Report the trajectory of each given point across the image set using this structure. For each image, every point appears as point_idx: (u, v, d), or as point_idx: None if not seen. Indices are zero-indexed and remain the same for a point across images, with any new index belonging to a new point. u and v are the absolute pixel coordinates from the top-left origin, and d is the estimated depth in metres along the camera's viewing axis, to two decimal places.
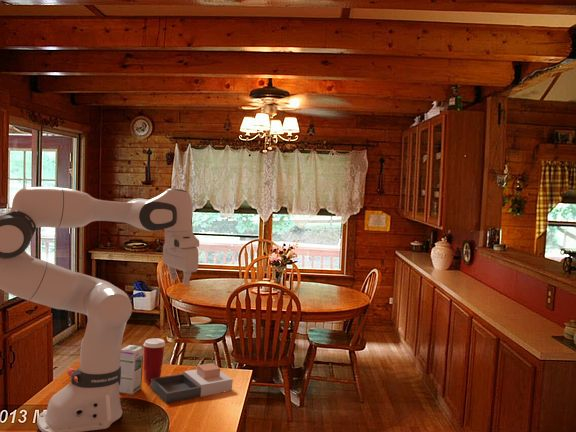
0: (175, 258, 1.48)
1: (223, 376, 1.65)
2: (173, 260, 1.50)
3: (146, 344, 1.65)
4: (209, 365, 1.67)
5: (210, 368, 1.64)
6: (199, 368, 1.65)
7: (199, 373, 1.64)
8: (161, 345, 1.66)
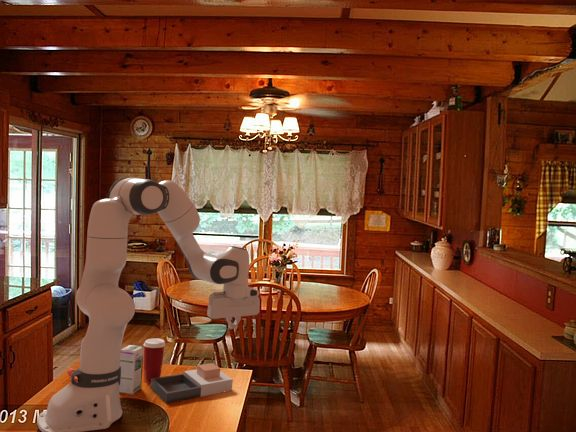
0: (239, 307, 1.69)
1: (223, 376, 1.65)
2: (234, 310, 1.68)
3: (146, 344, 1.65)
4: (209, 365, 1.67)
5: (210, 368, 1.64)
6: (199, 368, 1.65)
7: (199, 373, 1.64)
8: (161, 345, 1.66)
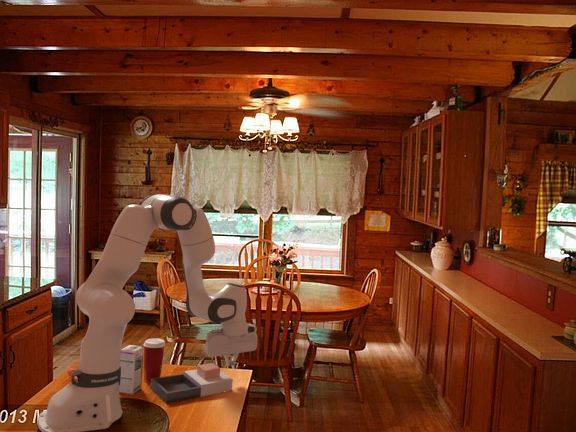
0: (237, 344, 1.70)
1: (223, 376, 1.65)
2: (232, 347, 1.69)
3: (146, 344, 1.65)
4: (209, 365, 1.67)
5: (210, 368, 1.64)
6: (199, 368, 1.65)
7: (199, 373, 1.64)
8: (161, 345, 1.66)
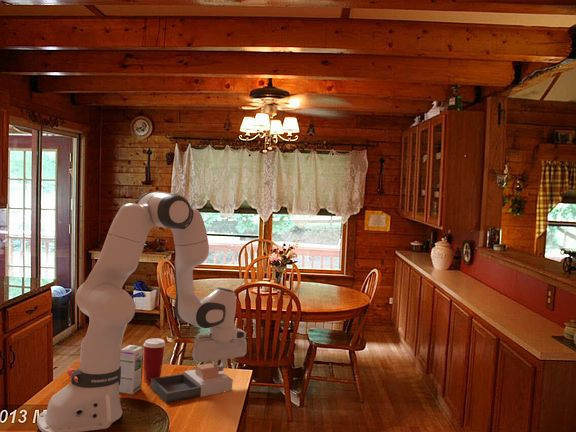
0: (225, 349, 1.67)
1: (223, 376, 1.65)
2: (220, 353, 1.66)
3: (146, 344, 1.65)
4: (208, 365, 1.67)
5: (209, 368, 1.64)
6: (198, 368, 1.64)
7: (198, 373, 1.64)
8: (161, 345, 1.66)
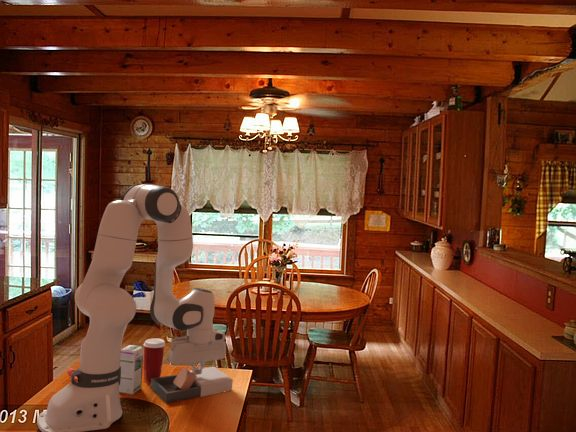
0: (203, 352, 1.62)
1: (223, 376, 1.65)
2: (198, 355, 1.61)
3: (146, 344, 1.65)
4: (181, 373, 1.60)
5: (183, 378, 1.58)
6: (176, 384, 1.59)
7: None
8: (161, 345, 1.66)
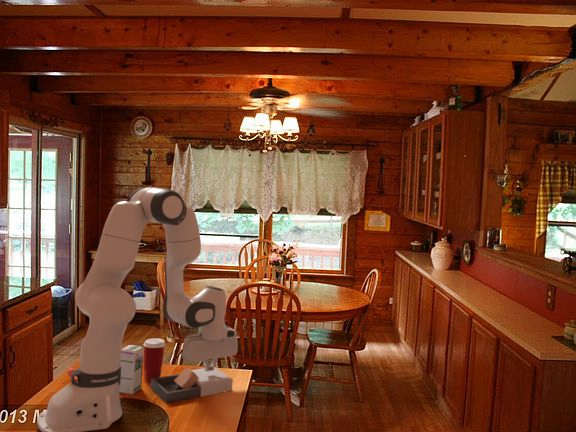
0: (216, 349, 1.65)
1: (223, 376, 1.65)
2: (211, 352, 1.64)
3: (146, 344, 1.65)
4: (184, 373, 1.61)
5: (185, 377, 1.59)
6: (176, 383, 1.59)
7: (180, 386, 1.60)
8: (161, 345, 1.66)
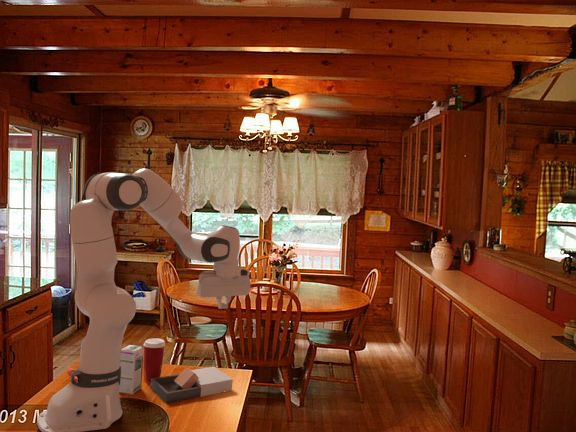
0: (229, 287, 1.69)
1: (223, 376, 1.65)
2: (224, 289, 1.68)
3: (146, 344, 1.65)
4: (184, 373, 1.61)
5: (185, 377, 1.59)
6: (176, 383, 1.59)
7: (180, 386, 1.60)
8: (161, 345, 1.66)
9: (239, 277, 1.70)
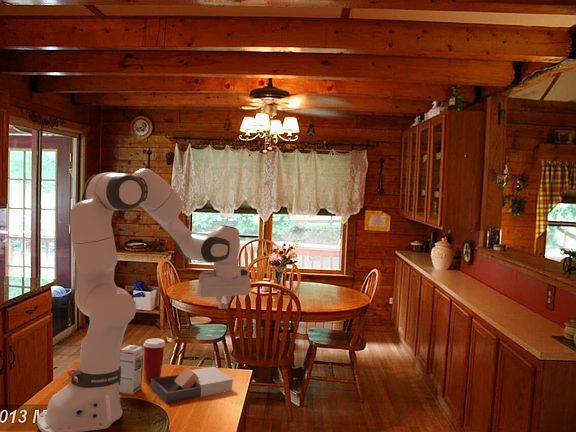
0: (229, 287, 1.69)
1: (223, 376, 1.65)
2: (224, 289, 1.68)
3: (146, 344, 1.65)
4: (184, 373, 1.61)
5: (185, 377, 1.59)
6: (176, 383, 1.59)
7: (180, 386, 1.60)
8: (161, 345, 1.66)
9: (239, 277, 1.70)
